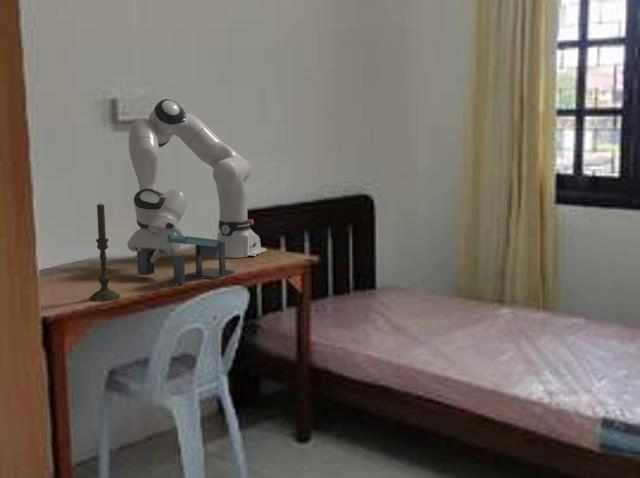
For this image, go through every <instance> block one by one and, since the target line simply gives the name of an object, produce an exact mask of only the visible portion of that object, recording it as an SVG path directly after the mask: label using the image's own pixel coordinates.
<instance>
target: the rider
mask: <svg viewBox="0 0 640 478" xmlns="http://www.w3.org/2000/svg"><path fill="white" fill-rule="evenodd" d="M154 254H155V253H154V251H153V250H141V251H137V252H136V257H137V260H136V261H137V275H142V276H149V275H154V274H155V262H154V263H150V262H149V261H148V259H149V257H150V256H153V255H154Z"/></svg>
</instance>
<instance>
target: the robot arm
mask: <svg viewBox="0 0 640 478" xmlns="http://www.w3.org/2000/svg"><path fill="white" fill-rule="evenodd" d="M129 128H130V129H129V133H128V151H129V152H128V153H129V157H130V161H131V164H132V167H133V170H134V173H135V175H136V179H137V182H138V186H139V190H138V191H137V192H136V193H135V194H134V195H133V196H134V197H133V205H134V209H135V215H136V224H137V225H138V227H139V228H140V229H136V231H135V232H134V233H133V234H132V235H131V236H130V238H129V239H128V242H127V243H126V245H127V248H128V249H129V250H130V251H131V252H136V253H137V251H141V250H153V251H154V255H153V256H150V257H149V259H148V261H149V262H150V263H154V264H155V262H156V260H157V259H158V258H160V257H161V256H162V255H169V256H170V255H171V256H173V255H177V253H178V252H179V250H180V248H181V247H182V246H181V245H182V244H181V243H170V242H167V239H168V235H175V236H184V237H185V235H184V233H183V232H182V230H181V229H180V228H179V227H178V224H179V222H180V221H181V220H182V217H183V216H184V213H185V210H186V208H187V205H188V201H187V198H186V196H185V195H184V193H182V192H181V191H180V190H178V189H176V188H170V189H168V190H157V175H158V168H159V166H158V165H159V158H160V157H159V156H160V155H159V154H160V148H162V147H164V146H165V145H167V144H168V143H169V142H170V140H171V138H172V137H173V136H176V137H178V138H179V139H180V140H181V141H182V142H183V143H184V144H185V145H186V146H187V147H188V148H189V149H190V150H191V151H192V152H193V154H195V155H196V156H197V158H199V159H200V161H202V162H203V163H205V164H207V165H208V166H209V167H211V168H213V170H212V177H213V179H214V182H215V186H216V191H217V196H218V204H219V206H218V207H219V220H218V230H219V231H218V233H217V238H216V240H222V241H221V242H225V259H226V258H228V259H229V258H231V259H232V258H234V259H236V258H237V259H240V258H249V257H248V256H255V257H257V256H258V255H257V254H259V255H260V253H261V254H262V252H263V253H265V252H267V248H266V247H261V238H260V236H259V235H258V234H256V233H255V232H254V230H252V229H251V226H252V225H254V219H248V199H247V196H246V192H245V188H244V183H245V182H246V181H248V179H249V178H250V176H251V173H252V166H251V164H250V162H249V161H248V160H247V159H245V158H244V157H242V155H240V154H239V153H238V152H236V151H235V150H234V149H233V148H232V147H230V146H229V145H227V144H226V143H225V142H224V141H223V140H222V139H220V137H218V136H217V135H216V134H215V133H214V132H213V131H212V130H211V129H210V128H209V127H208V126H207V125H206V124H205V123H204V122H203V121H201V119H199V118H198V117H196V116H195V115H194V114H192V113H190V112H185V110H184V109H183V108H182V106H181V105H180V104H179V103H178V102H176V101H174V100H172V99H169V98H168V99H167V98H165V99H161V100H160V101H159V102H158V103H156V105H155V107H154V109H153V110H152V112H150V114H149V116H148V118H147V119H144V118H141V119H140V118H139V119H137V120H135V121H133V122H132V124H131V125H130V127H129ZM256 255H257V256H256ZM135 260H136V261H137V256H136V258H135Z"/></svg>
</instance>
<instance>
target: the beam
mask: <svg viewBox="0 0 640 478" xmlns="http://www.w3.org/2000/svg"><path fill="white" fill-rule="evenodd" d="M221 241H222V240H217V239H213V238H204V237H196V236H189V235H188V236H186V235H184V236H175V235H168V239H167V242H170V243H181V245H192V246H195V245H201V253H200V257H202V258H207V259H209V258H210V259H219V243H220V242H221Z"/></svg>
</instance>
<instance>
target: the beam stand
mask: <svg viewBox="0 0 640 478" xmlns="http://www.w3.org/2000/svg"><path fill="white" fill-rule="evenodd" d="M194 247H195V270H194V271H191V272H188V273H186V269H185V254H174V255H172V260H173V261H172V265H173V285H174V284H178V285H177V286H181V285H182V286H184V285H183V284H185V285H186V278H185V277H188V276H192V277H191V278H197V277H204V278H203V279H206V278H210V279H209V280H217V279H220V278H223V277H227V276H230V275H233V274H235V270H234V269H233V270H232V269H227V268H226V257H225V242H220V243H219V258H218V266H219V267H218V268H214V267H205V268H203V257H200V253H201V245H194ZM185 273H186V274H187V275H185Z"/></svg>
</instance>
